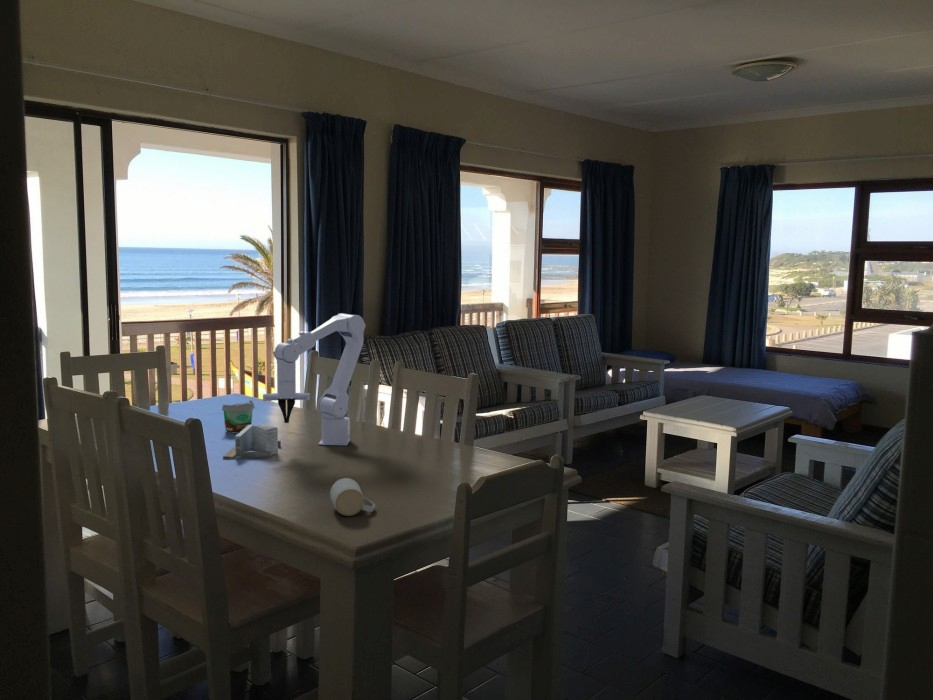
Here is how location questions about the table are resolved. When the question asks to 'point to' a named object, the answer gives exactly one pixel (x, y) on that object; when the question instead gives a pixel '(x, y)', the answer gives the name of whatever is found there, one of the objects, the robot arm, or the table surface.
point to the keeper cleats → (257, 453)
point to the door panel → (243, 440)
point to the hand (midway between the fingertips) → (286, 422)
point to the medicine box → (265, 438)
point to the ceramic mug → (349, 498)
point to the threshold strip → (230, 454)
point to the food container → (237, 416)
